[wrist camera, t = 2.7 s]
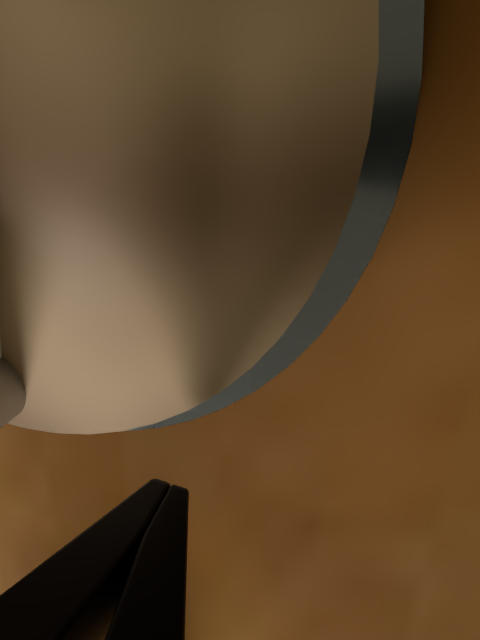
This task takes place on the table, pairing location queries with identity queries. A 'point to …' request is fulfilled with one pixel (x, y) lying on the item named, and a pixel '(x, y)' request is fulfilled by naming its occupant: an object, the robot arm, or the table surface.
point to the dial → (167, 193)
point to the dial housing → (367, 207)
